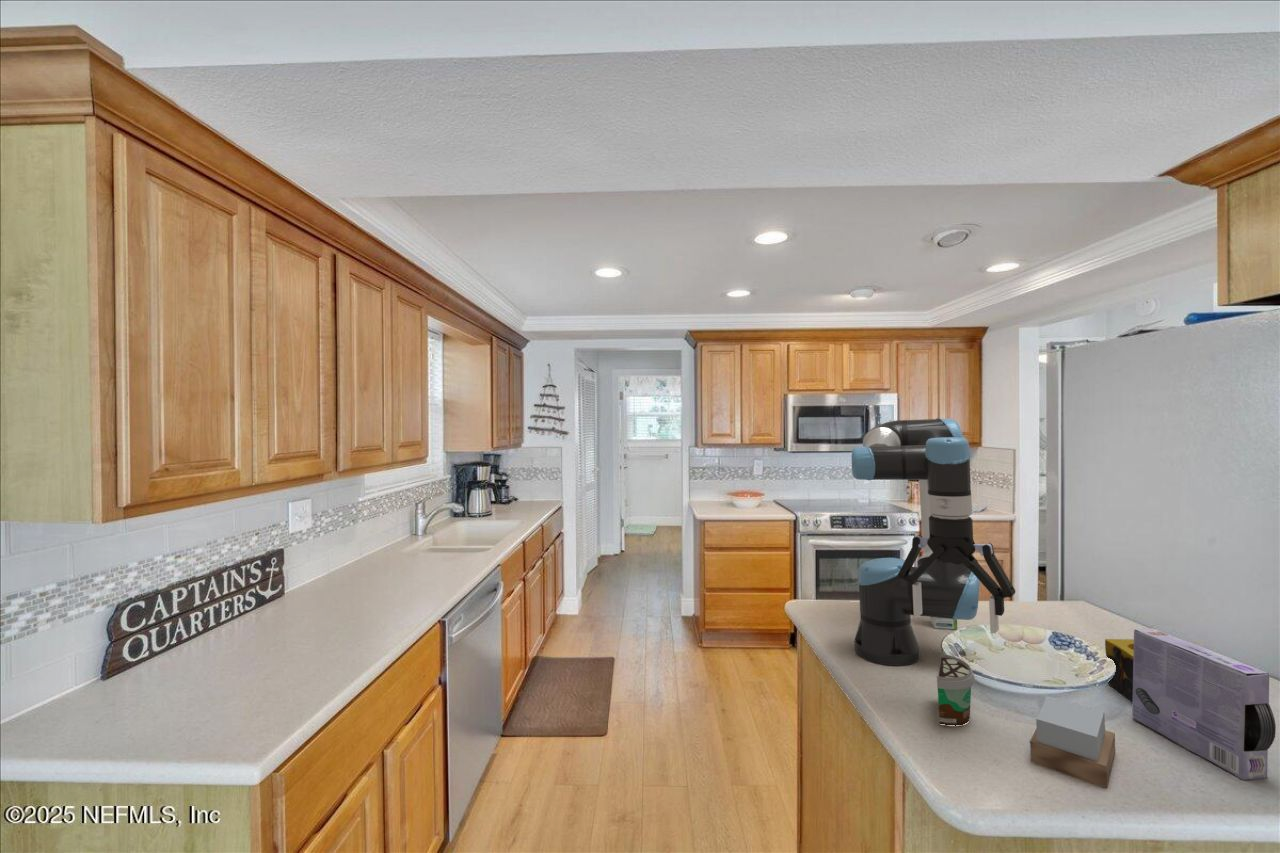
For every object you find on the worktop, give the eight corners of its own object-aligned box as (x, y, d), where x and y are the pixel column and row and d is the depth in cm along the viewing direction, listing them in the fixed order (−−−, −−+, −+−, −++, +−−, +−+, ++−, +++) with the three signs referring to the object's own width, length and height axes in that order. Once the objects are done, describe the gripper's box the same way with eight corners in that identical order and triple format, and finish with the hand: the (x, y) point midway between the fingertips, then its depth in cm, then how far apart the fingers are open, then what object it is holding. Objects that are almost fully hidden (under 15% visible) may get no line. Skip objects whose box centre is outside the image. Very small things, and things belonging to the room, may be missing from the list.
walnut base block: (1030, 764, 93) (1030, 741, 93) (1044, 733, 101) (1044, 712, 101) (1107, 791, 86) (1106, 766, 86) (1115, 755, 94) (1114, 733, 94)
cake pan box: (1280, 783, 85) (1276, 671, 85) (1252, 786, 85) (1248, 674, 84) (1154, 716, 104) (1150, 625, 104) (1130, 719, 104) (1126, 628, 103)
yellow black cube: (1199, 711, 105) (1197, 660, 105) (1138, 708, 107) (1136, 658, 107) (1160, 685, 115) (1158, 639, 115) (1105, 683, 117) (1103, 637, 117)
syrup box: (934, 628, 150) (932, 576, 150) (929, 620, 156) (927, 570, 155) (957, 630, 148) (955, 577, 148) (952, 622, 154) (949, 571, 154)
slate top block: (1037, 741, 93) (1036, 718, 93) (1048, 717, 100) (1047, 696, 100) (1097, 761, 87) (1097, 737, 87) (1105, 734, 94) (1104, 711, 94)
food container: (976, 737, 100) (974, 684, 100) (939, 729, 104) (936, 677, 103) (976, 706, 111) (974, 657, 111) (942, 699, 114) (940, 652, 114)
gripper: (878, 512, 113) (882, 613, 113) (1021, 525, 95) (1026, 645, 95) (892, 507, 118) (896, 604, 118) (1030, 518, 100) (1035, 632, 100)
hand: (954, 622), depth 107 cm, fingers open, 13 cm apart
